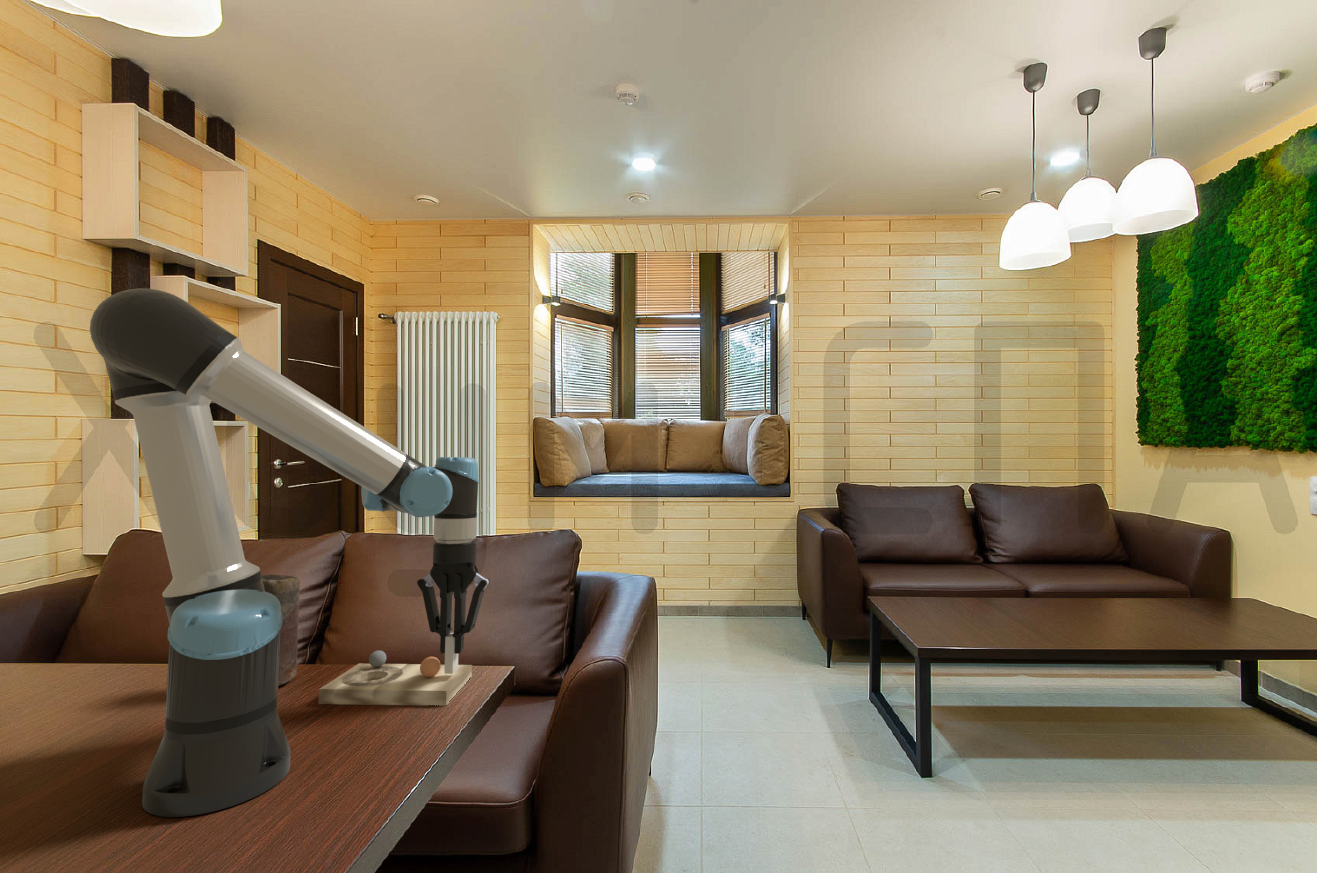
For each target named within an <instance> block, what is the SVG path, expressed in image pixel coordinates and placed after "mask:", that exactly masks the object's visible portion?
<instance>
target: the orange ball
mask: <svg viewBox="0 0 1317 873" xmlns="http://www.w3.org/2000/svg"><path fill="white" fill-rule="evenodd" d="M420 664H421V665H420V671H421V673H422V675H423V676H425V677H433V676H435V675H436V674H437V673H438V672H439V670H440V666H441V665H442V664H441V661H440V660H439V659H438V657H435V656H428V657H426V658H424V659H423V660H422V661H421V663H420Z"/></svg>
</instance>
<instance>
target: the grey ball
mask: <svg viewBox="0 0 1317 873" xmlns="http://www.w3.org/2000/svg"><path fill="white" fill-rule="evenodd" d="M386 661H387V654H386V653H385V652H384V651H383V650H380V649H379V650H375V651H373V652H372V653H371V654H370V655H369V657H368V664H370V665H371V666H373V667H380V666H382V665H383V664H386Z"/></svg>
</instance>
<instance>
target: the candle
mask: <svg viewBox="0 0 1317 873" xmlns="http://www.w3.org/2000/svg"><path fill="white" fill-rule="evenodd" d="M261 577H262V580H263V585H264V589H265V592H268V593H270V594H273V595H274V596H275V597H277V599H278V600H279V602H280V605H281V613H282V617H283V620H282V626H281V628H280V647H279V673H278V687H279V686H281V685H284V684H286V683H288V682H290V681H291V680H292V679H293V678H294V677H296V676H297V674H298V673H297V671H298V670H297V669H298V644H299V642H298V641H299V640H298V638H299V612H300V611H299V608H300V582H301V581H300V578H299V577H298V576H296V575H286V574H284V575H280V574H261Z"/></svg>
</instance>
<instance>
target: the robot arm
mask: <svg viewBox="0 0 1317 873" xmlns="http://www.w3.org/2000/svg"><path fill="white" fill-rule="evenodd" d="M89 324H90V325H89V334H90V338H91V339H90V340H91V341H92V343H93V345H94V348H95V349H96V351H97V352H98V354H100V356H101V357H102V358H103V361H104V364H105V368H106V372H107V375H108V379H109V383H110V388H111V391H112V395H113V399H114V403H115V405H117V406H119V407H121V408H122V409H124V410H126V411H128V412H129V413H131V414H132V416H133V419H134V420H133V421H134V425H135V428H136V429H135V430H136V432H137V436H138V437H137V438H138V441H139V445H140V449H141V453H142V457H143V461H144V466H145V469H146V473H147V477H148V478H147V479H148V482H149V486H150V490H151V494H152V498H153V502H154V506H155V511H156V514H157V518H158V523H159V526H160V531H161V535H162V538H163V539H162V540H163V544H164V546H165V552H166V555H167V556H166V557H167V559H168V563H169V568H170V573H171V576H172V579H171V581H170V583H168V586H167V587H165V589H164V591H163V592H162V593H161V594H162V597H163V604H164V606H165V610H166V615H167V619H168V624H169V626H168V629H167V641H168V661H167V679H166V680H167V681H166V697H165V698H166V699H165V718H164V719H165V721H164V722H165V723H164V733H163V737H162V739H161V741H160V743H159V746H158V748H157V750H156V754H155V755H154V757H153V760H152V762H151V764H150V767H149V770H148V772H147V774H146V777H145V779H144V782H143V785H142V786H143V787H142V797H141V798H142V800H141V805H142V809H143V810H144V811H146V812H147V813H149V814H151V815H154V816H158V817H166V818H179V817H181V818H182V817H192V816H197V815H203V814H209V813H212V812H216V811H220V810H223V809H227V808H230V807H233V806H236V805H238V804H241V803H244V802H247V801H249V800H251V799H254V798H256V797H258V796H260V795H262V794H264V793H265V792H268V791H269V790H270V789H272V788H273V787H275V786H277V785H278V784H279V783H280V782H282V780H283V779H285V777H287V775H288V773H289V772H290V768H291V747H290V744H289V741H288V738H287V735H286V733H285V730H284V726H283V725H282V722H281V718H280V716H279V713H278V697H279V696H278V694H279V692H278V691H279V686H278V673H279V647H280V628H281V626H282V620H283V617H282V613H281V605H280V602H279V600H278V599H277V597H275V596H274V595H273V594H270V593H268V592H265V589H264V585H263V580H262V577H261V576H262V574H261V569H260V567H259V566H258V565H255V564H253V563H252V562H249V561H247V560H246V557H245V554H244V550H243V545H242V541H241V536H240V532H239V528H238V523H237V518H236V515H235V511H234V510H235V509H234V506H233V502H232V497H231V493H230V490H229V489H230V488H229V485H228V481H227V480H228V479H227V476H226V472H225V468H224V463H223V458H222V454H221V450H220V446H219V442H218V438H217V433H216V429H215V425H214V420H213V416H212V413H211V412H212V411H211V407H210V404H211V402H214V403H215V404H217V405H218V406H220V407H221V408H224V409H226V410H228V411H229V412H230V413H232V414H234V415H236V416H238V417H239V418H241V419H243V420H245V421H247V422H248V423H250V424H252V425H254V426H255V427H258V429H260V430H263V431H264V432H265V433H267V434H270V435H271V436H273V437H275V438H277V440H280V441H281V442H283V443H285V444H287V445H288V446H291V447H292V448H294V449H296V450H298V451H299V452H301V453H303V454H305V455H306V456H308V457H310V458H311V459H312V460H315V461H316V462H318V463H320V464H322V465H323V466H326V467H327V468H329V469H331V470H333V471H335V472H336V473H338V474H339V475H341V476H343V477H345V478H346V479H348V480H350V481H352V482H354V483H355V484H356V485H359V486H361V487H360V489H361V491H360V492H361V504H362V506H363V508H364V509H365V510H366V511H370V512H382V513H384V512H386V511H388V512H389V511H390V512H391V511H392V512H393V511H397V512H400V513H405V514H408V515H409V514H410V515H411V516H413V517H416V518H425V517H426V518H427V517H428V518H429V517H434V518H433V536H432V537H433V539H434V540H435V541H436V542H434V543H433V546H432V547H433V548H432V567H431V569H430V571H429V574H428V575H425V576H424V577H422V578H420V579H418V580H417V581H416V584H417V587H419V590H420V591H421V594H422V598H423V603H424V607H425V612H426V617H427V622H428V626H429V628H428V629H429V631H430V632H431V633H436V634H438V635H439V636H440V639H439V640H440V641H439V646H440V647H439V650H440V654H444V665H445V669H444V674H453V673H454V672H455V671H456V670H457V669H458V665H459V654H462V652H463V650H464V649H465V648H464V647H465V646H464V644H465V634H468V633H470V632H472V631H473V629H474V628H475V627H476V623H477V620H478V616H479V612H480V608H481V605H482V600H483V597H484V593H485V590H486V589H487V587H488V586H489V584H490V583H491V580H490V578H489V577H484V576H482V575H481V574H479V569H478V568H477V564H476V563H477V562H476V561H477V542H476V541H475V540H476V538H477V531H478V530H477V529H478V528H477V527H478V496H479V484H480V480H479V467H478V466H479V465H478V461H477V460H476V459H475V458H474V457H469V456H467V457H462V456H458V457H455V456H440V457H437V459H436V460H435V465H434V466H433V467H432V466H426V465H425V464H423V463H422V462H420V461H419V460H417V459H415V458H414V457H412V456H410V455H409V454H407V453H406V452H404V451H403V450H401V449H400V448H398V447H396V446H395V445H394V444H392V443H390V442H388V440H386V439H384V438H382V437H381V436H379V435H377V434H376V433H375V432H373V431H372V430H370V429H368V428H367V427H365V426H363V425H362V424H360V423H359V422H357V421H355V420H354V419H353V418H350V417H349V416H348V415H346V414H344V413H343V412H341V411H339V409H337V408H335V407H333V406H332V405H330V404H329V403H327V402H326V401H324V400H323V399H321V398H320V397H317V396H316V395H315V394H313V393H311V392H310V391H308V390H306V389H305V388H303V387H302V386H301V385H298V384H297V383H295V382H294V381H292V380H291V379H289V378H288V377H286V376H284V375H283V374H281V373H279V372H278V371H276V370H275V369H273V368H271V367H270V366H269V365H267V364H265V363H264V362H262V361H261V360H259V359H258V358H256V357H254V356H253V355H251V354H250V353H248V352H246V351H245V350H244V349H243V344H242V341H241V338H239V337H237V336H236V335H234V334H233V333H231V332H230V331H228V330H227V329H225V328H224V327H222V326H221V325H220V324H218V323H216V322H215V321H214V320H212V319H211V318H210V317H208V316H207V315H206V314H204V313H203V312H201V311H200V310H199V309H197V308H196V307H195V306H194V305H192V304H191V303H189V302H187V301H186V300H184V299H182V298H180V297H178V295H175V294H172V293H170V292H168V291H163V290H159V289H154V288H141V287H140V288H132V289H131V288H130V289H126V290H123V291H122V290H121V291H119V292H116V293H114V294H112V295H110V296H109V297H107V298H106V299H104V300H103V301H102V302H101V303H99V305H98V306H97V307H96V309H95V310H94V311H93V313H92V316H91V319H90V323H89ZM473 582H474V583H473ZM472 583H473V586H474V587H473V588H475V589H474V591H473V593H472V596H471V597H472V598H471V601H470V604H469V607H468V608H469V609H468V613H467V616H466V610H467V609H466V607H467V601H466V600H467V594H468V589H469V587H470V586H471V584H472ZM434 584H436V586H437V588H438V589H439V598H440V612H439V606H438V601H437V596H436V591H435V587H434ZM453 598H454V607H453ZM453 608H454V611H453ZM453 612H454V613H453ZM452 614H454V615H453V616H454V617H453V627H452ZM451 631H453V632H451Z"/></svg>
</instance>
